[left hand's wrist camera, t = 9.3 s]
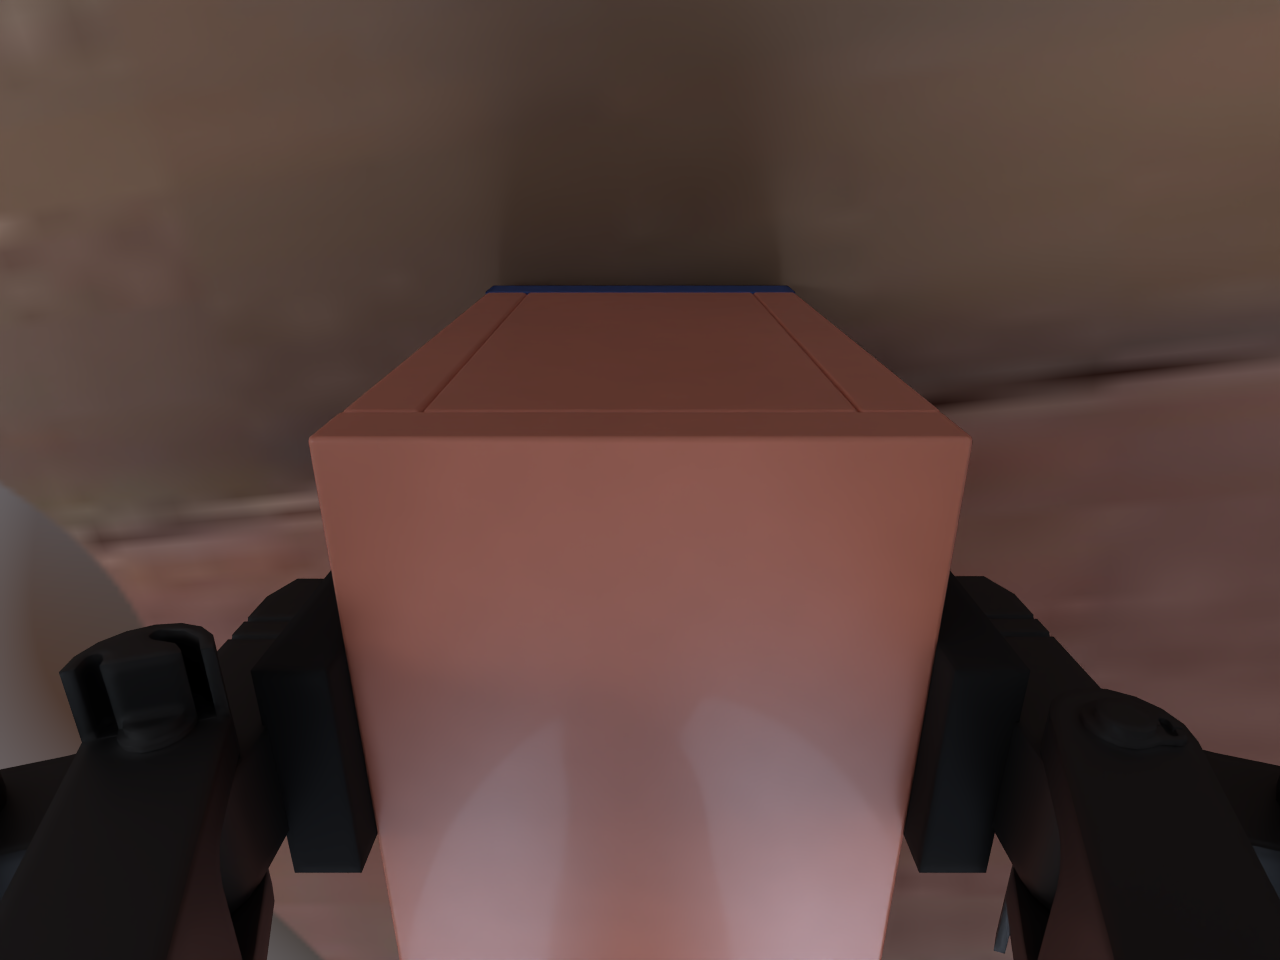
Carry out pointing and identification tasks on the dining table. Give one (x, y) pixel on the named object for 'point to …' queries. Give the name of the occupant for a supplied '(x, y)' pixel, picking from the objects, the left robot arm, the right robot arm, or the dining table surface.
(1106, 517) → the dining table surface
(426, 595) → the cabinet
